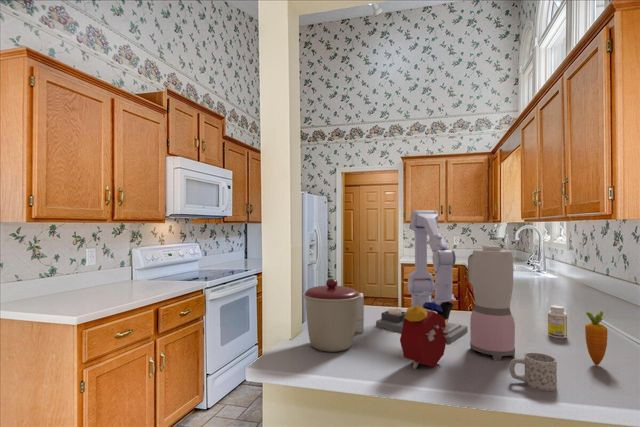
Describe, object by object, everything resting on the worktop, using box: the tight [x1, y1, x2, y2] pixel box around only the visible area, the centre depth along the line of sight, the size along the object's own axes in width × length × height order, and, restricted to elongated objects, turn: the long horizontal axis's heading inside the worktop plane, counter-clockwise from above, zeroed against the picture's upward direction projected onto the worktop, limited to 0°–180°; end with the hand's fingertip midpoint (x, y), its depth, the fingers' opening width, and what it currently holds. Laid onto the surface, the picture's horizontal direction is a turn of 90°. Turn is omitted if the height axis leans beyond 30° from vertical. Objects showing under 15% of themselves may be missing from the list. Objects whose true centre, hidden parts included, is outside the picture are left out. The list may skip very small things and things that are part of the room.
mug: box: [509, 352, 558, 392], centre depth 89 cm, size 10×7×7 cm
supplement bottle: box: [547, 305, 568, 339], centre depth 126 cm, size 6×6×10 cm
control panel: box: [375, 310, 469, 344], centre depth 133 cm, size 16×28×4 cm, turn 50°
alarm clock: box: [399, 291, 451, 370], centre depth 100 cm, size 15×9×20 cm, turn 133°
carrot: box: [584, 310, 608, 367], centre depth 101 cm, size 5×5×15 cm
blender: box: [467, 245, 516, 361], centre depth 112 cm, size 16×12×32 cm
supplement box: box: [355, 292, 365, 334], centre depth 132 cm, size 7×7×13 cm
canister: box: [302, 278, 361, 353], centre depth 114 cm, size 18×18×21 cm
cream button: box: [387, 308, 403, 315], centre depth 139 cm, size 5×5×2 cm
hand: (443, 323), depth 126 cm, fingers closed
